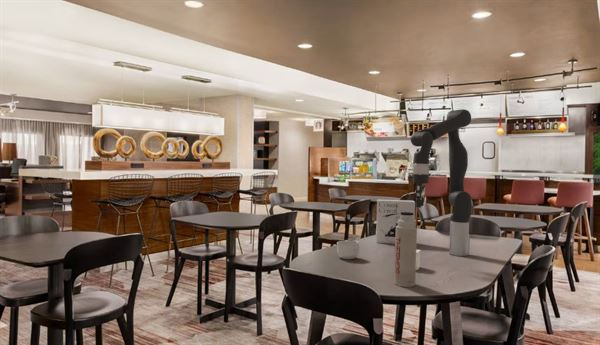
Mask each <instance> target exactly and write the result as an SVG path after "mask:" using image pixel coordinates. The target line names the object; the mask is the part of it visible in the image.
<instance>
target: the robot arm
mask: <svg viewBox="0 0 600 345" xmlns="http://www.w3.org/2000/svg"><path fill="white" fill-rule="evenodd" d="M471 122H472V115H471V112H470V111H469V110H467V109H463V108H462V109H454V110H449V111H448V112H447V115H446V119H445V120H442V121H439V122H437V123H434V124H432V125H431V126H429V127H427V128H424V129H420V130H417V131H416V132H414V133H413V134H412V135H411V137H410V143H411V144H412V146H414V147H420V150H419V151H415V152H414V154H413V165H412V167H413V168H412V183H413V184H417V185H415V197H414V198H415V208H419V209H420V208H422V207H423V206H424V203H425V202H424V201H425V200H424V199H425V196H426V195H425V194H426V184H429V182H430V180H429V179H430V167H429V164H430V153H431V150H432V147H433V144H434V141H436V140H438V139H439V138H442V137H443V136H445V135H447V136H448V137H447V140H448V162H449V163H448V168H449V169H448V170H449V192H448V202H449V204H450V205H451V207H453V210H452V211H453V212H452V214H451V215H450V218H449V219H450V220H449V248H448V250H449V251H448V252H449V255H452V256H456V257H457V256H458V257H466V256H469V255H470V252H471V251H470V250H471V249H470V248H471V246H470V245H471V237H470V236H469V233H470V232H469V231H470V230H469V229H470V227H469V226H470V218H471V215H472V204H473V203H472V197H471V196H472V195H470V193H469V192H467V191H465V185H464V184H465V183H464V182H465V181H464V180H465V176H466V174H467V171H468V166H469V163H468V162H469V160H468V158H469V156H468V150H467V149H466V147H465V145H464V143H463V142H462V140H461V138H460V135H459V129H461V128H465V127H467V126H469V125H470V123H471Z"/></svg>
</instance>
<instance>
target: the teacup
mask: <svg viewBox="0 0 600 345" xmlns="http://www.w3.org/2000/svg"><path fill="white" fill-rule="evenodd" d="M359 243H360V242H359V241H357V240H349V239H345V240H340V241H337V242H336V251H337V255H338V256H339V257H340V258H341V259H343V260H353V259H355V258H356V257H358V255H359V253H360V250H359V248H360V244H359Z"/></svg>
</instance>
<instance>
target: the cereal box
mask: <svg viewBox="0 0 600 345" xmlns="http://www.w3.org/2000/svg"><path fill="white" fill-rule="evenodd" d="M401 212H411V213H413V220H414V221H415V222H416V220H415V219H416V200H408V199H407V200H404V199H376V234H375V235H376V236H375V243H376V242H378V243H377V244H390V243H392V245H395V239H396V226H398V223H397V222H398V220H400V216H401V214H400V213H401Z"/></svg>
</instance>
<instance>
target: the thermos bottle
mask: <svg viewBox="0 0 600 345" xmlns="http://www.w3.org/2000/svg"><path fill="white" fill-rule="evenodd" d="M400 214H401V216H400V220H398V222H397V223H398V226H396V239H395V244H394V246H395V248H394V249H395V250H394V252H395V254H394V255H395V256H394V274H393V275H394V278H393V281H394V282H393V283H394V285H396V286H398V287H403V288H404V287H405V288H411V287H414V286H416V275H417V274H416V273H417V272H416V271H417V270H416V250H417V242H418V241H417V240H418V238H417V236H418V235H417V234H418V228H417V226H416V225H417V224H416V220H415V221H414V220H413V213H411V212H401V213H400Z"/></svg>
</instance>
